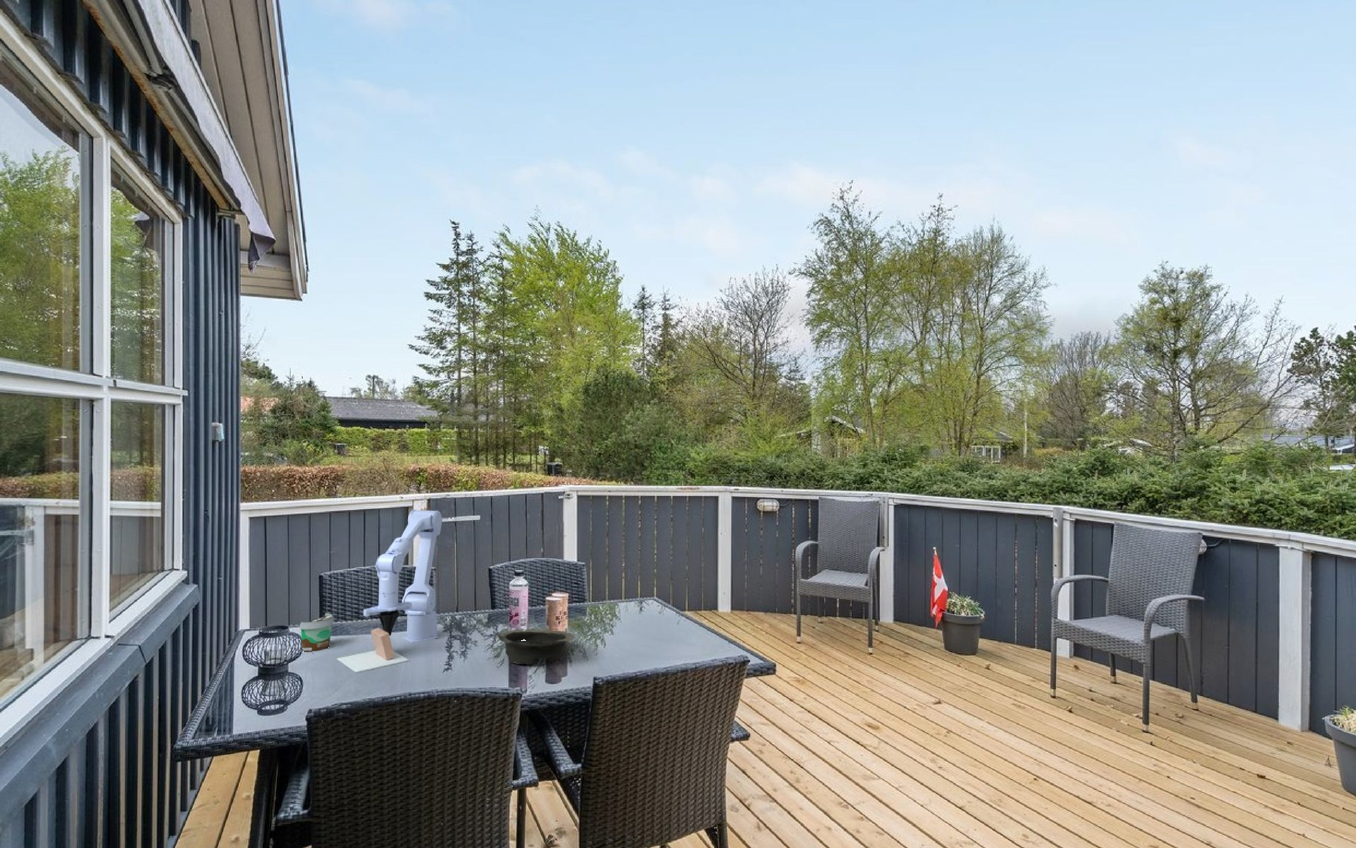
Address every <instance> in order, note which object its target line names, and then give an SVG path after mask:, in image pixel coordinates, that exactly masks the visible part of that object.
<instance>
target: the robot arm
mask: <svg viewBox="0 0 1356 848" xmlns="http://www.w3.org/2000/svg"><path fill="white" fill-rule="evenodd" d="M442 522H443V517H442V513H441V512H440V511H439V510H423V509H422V510H421V509H412V510H411V511H410V513H409V514H408V518H407V525H406V527H405V529H404V531H403V532H402V534H401V537H399V536H398V537H396V538H395V539H394V540H393V542H392V543H391V544H390V546H389V547H388V549H387V550H386V552H385V553H382V554H381V555H379V556H378V557H377V559H376V562H375V570H376V572H377V575H376V576H377V578H378V605H376V606H372V607H368V608H364V609H363V616H364V617H370V616H374V615H376V616H377V617H378V620H379V621H380V623H381V626H382V630H384V631H385V632H387V633H389V637H391V635H392V632H393V628H394V626H395V624H396V621H397V620H398V617H400V612H399V611H404V613H405V615H407V616H406V617H407V618H406V635H403V636H402V637H401V638H402V639H403V640H405V641H408V642H409V643H412V644H413V643H419V642H423V641H427V640H433V639H438V638H439V636H438V615H437V613H436V611H435V610H434V609H435V606H436V592H437V591H436V590H435V589H434V588H433V587H432V586H431V585H430V579H431V573H432V567H433V560H434V554H435V548H436V542H437V536H440V535H441V530H442V525H443V523H442ZM417 535H418V536H419V537H420V542H419V548H418V554H417V559H416V567H415V572H414V578H413V583H412V584H411V585H409V586H408V587H407V588H406V589H405V590H404V591H405V593H404V595H403V597H402V600H401V602H399V583H400V580H399V579H400V578H399V577H400V572H401V571H402V569H403V566H404V563H405V558H406V556H407V555H408V553H409V552H410V550H411V549H412V543H411V542H413V540H415V538H416V536H417Z"/></svg>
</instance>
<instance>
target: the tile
mask: <svg viewBox="0 0 1356 848" xmlns="http://www.w3.org/2000/svg"><path fill="white" fill-rule="evenodd" d="M370 634H371V639H372V642H373V646H374V649H375V651H376V654H377V655H379V656H380V657H382V658H383V659H385V660H389V659H391V658H393V657H394V653H393V651H394V650H393V649H394V648H393V645H392V642H391V636H389V633H387V632H385V631H384V630H383V628H382V629H381V628H379V627H377V628H375V629H372V630H370Z"/></svg>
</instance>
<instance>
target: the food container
mask: <svg viewBox="0 0 1356 848" xmlns="http://www.w3.org/2000/svg"><path fill="white" fill-rule="evenodd" d="M333 624H335V619H334V615H333V614H331V613H328V612H327V613H325V614H324V616H321V617H319V618H317V617H316V618H314V619H312V620H310V621H308V622H305V621H304V622H303V621H301V622H300V624H299V630H300V636H301V639H300V640H301V650H302V649H303V651H304V652H307V653H311V652H317V651H322V650H328V649H329V648H330V644H331V636H332V627H333ZM328 647H329V648H328Z"/></svg>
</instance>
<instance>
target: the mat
mask: <svg viewBox="0 0 1356 848" xmlns="http://www.w3.org/2000/svg"><path fill="white" fill-rule="evenodd" d="M393 653H394V657H393V658H391V659H389V660H385V659H383V658H382V657H380V656H379V655H377V654H376V651H375V648H373V649H369V650H363V651H360V652H355V653H351V654H344V655H341V656H335V657H334V658H335V659H336V660H338V661H339V662H340V663H342V664H343V665H345V666H346V667H348V668H349V669H350V670H352V671H353V672H355V673H356V674H360V673H364V672H368V671H373V670H376V669H381V668H385V667H390V666H394V665H399V664H400V665H401V664H404V663H409V662H411V660H410V659H407V658H406V657H404V656H402V655H401V654H399V653H398V652H396V651H394V650H393Z"/></svg>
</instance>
